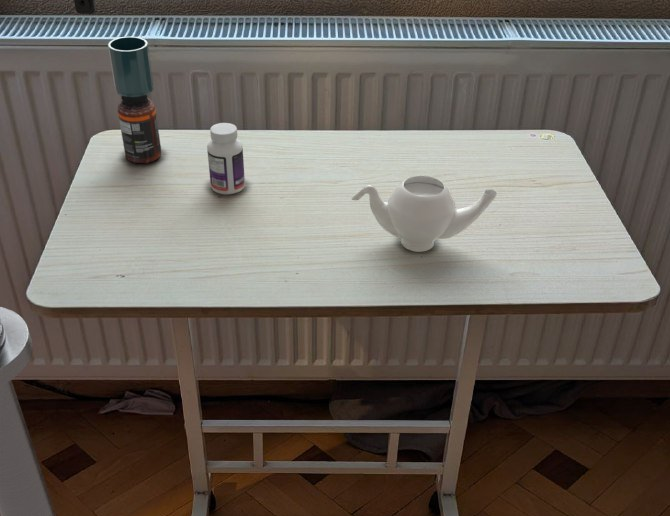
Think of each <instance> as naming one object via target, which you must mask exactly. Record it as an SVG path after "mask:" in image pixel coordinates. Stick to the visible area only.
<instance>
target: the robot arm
mask: <svg viewBox="0 0 670 516" xmlns="http://www.w3.org/2000/svg"><path fill="white" fill-rule="evenodd" d="M73 2H74V6H75V7H74V8H75V11H76V13H78V14H81V15H93V14H94V13H95V12H96V10H97V6H96V0H73ZM4 340H5V331H4V328H3V325H2V323H1V320H0V347H1V346H2V344H3V342H4Z"/></svg>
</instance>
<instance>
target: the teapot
mask: <svg viewBox="0 0 670 516" xmlns="http://www.w3.org/2000/svg"><path fill="white" fill-rule="evenodd" d="M365 195H368V199H369V207H370V210H371V213H372V214H373V216H374V218H375V220H376V221H377V223H378V224H379V226H380V227H381V228H382V229H383V230H384V231H385V232H387V233H388V234H390V235H392V236H394V237H395V238H399V239H401V245H402V246H403V247H404V248H405V249H407V250H409V251H412V252H417V253H421V252H426V251H429V250H432V248H433V247H434V245H435V241H436V240H447V239H451V238H454V237H455V236H457V235H459V234H461V233H462V232H464V231H465V230H467V229H468V228H469V227H470V226H471V225H472V224H473V223H474V222H476V220H478V219H479V217H481V215H482V214H483V213H484V212H485V211H486V209H487V208H488V207H489V206H490V205H491V204H492V203H493V201H494V200H495V198H496V197H497V191H496V190H494V189H490V188H489V189H485V190H484V191H483V193H482V194H481V196H480V197H479V199H478V200H476V201H475V202H473V203H472V204H470V205H467V206H465V207H461V208H457V205H456V201H455V199H454V197H453V195H452V192H451V191H450V189H449V187H448V186H447V185H446V184H445V183H444V181H442V180H441V179H438V178H436V177H433V176H429V175H414V176H409V177H407V178H405V179H404V180H402V181H401V182H400V183H399V184H398V185H397V186H396V187H395V188H394V190H393V191H392V192H391V193H390V195H389V197H388V200H387V201H385V200H383V198H382V197H381V195H380V193H379V191H378V190H377V188H376V186H373V185H372V184H368V185H366V186H364V187H363V188H361V189H360V190H359V191H358V192H357V193H355V194H354V195H353V196H352V197H351V198H350V199H351V200H352V201H359V200H361V199H362V198H363V196H365Z"/></svg>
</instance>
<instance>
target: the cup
mask: <svg viewBox="0 0 670 516" xmlns="http://www.w3.org/2000/svg"><path fill="white" fill-rule="evenodd" d="M107 48H108V49H107V50H108V53H109V54H108V55H109V60H110V66H111V72H112V77H113V78H112V79H113V85H114V89H115V90H114V91H115V92H116V94H118V95H119V96H125V97H140V96H144V95H147V96H148V95H149V94H151V93H152V92H153V91H154V79H153V72H152V71H153V70H152V63H151V56H150V49H149V42H148V41H147V39H145V38H142V37H138V36H122V37H121V36H120V37H116V38H114V39H112V40H110V41H108V43H107Z"/></svg>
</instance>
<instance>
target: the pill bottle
mask: <svg viewBox="0 0 670 516" xmlns="http://www.w3.org/2000/svg"><path fill="white" fill-rule="evenodd" d="M209 131H210V132H209V134H210V140H209V141H208V143H207V145H206V150H207V160H208V173H209V181H210V188H211V189H212V191H214V192H215V193H217V194H220V195H233V194H237V193H240V192H241V191H243V190H244V189H245V185H246V179H245V164H244V163H245V162H244V161H245V160H244V147H243V142H242V141H241V140H240V139H239V138H238V128H237V126H236V125H235V124H233V123H229V122H219V123H215V124H213V125H212V126H211V127H210V129H209Z"/></svg>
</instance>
